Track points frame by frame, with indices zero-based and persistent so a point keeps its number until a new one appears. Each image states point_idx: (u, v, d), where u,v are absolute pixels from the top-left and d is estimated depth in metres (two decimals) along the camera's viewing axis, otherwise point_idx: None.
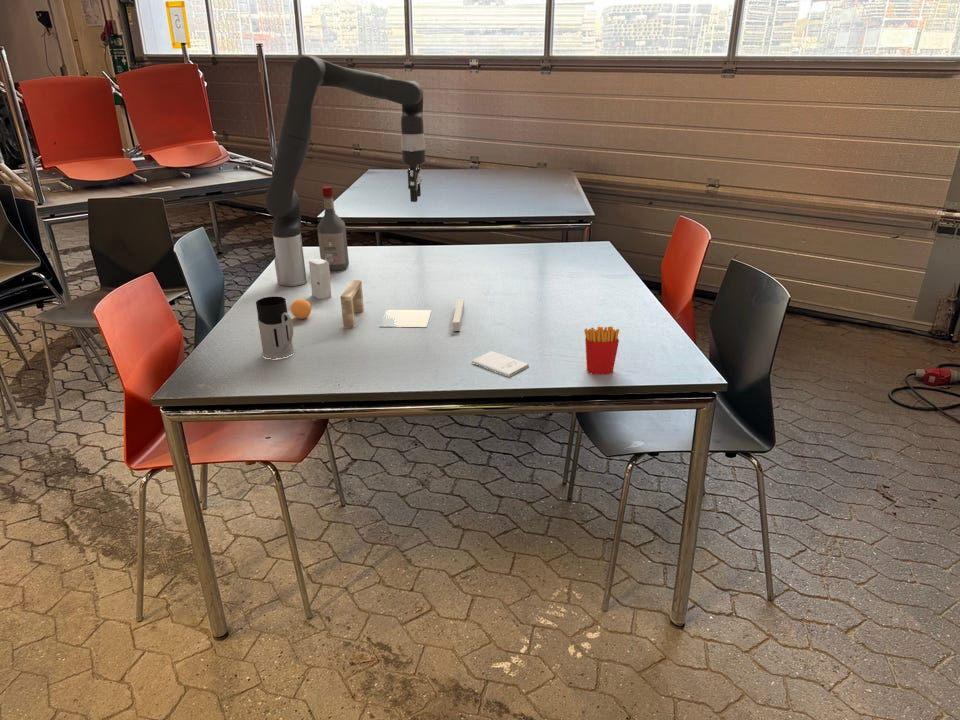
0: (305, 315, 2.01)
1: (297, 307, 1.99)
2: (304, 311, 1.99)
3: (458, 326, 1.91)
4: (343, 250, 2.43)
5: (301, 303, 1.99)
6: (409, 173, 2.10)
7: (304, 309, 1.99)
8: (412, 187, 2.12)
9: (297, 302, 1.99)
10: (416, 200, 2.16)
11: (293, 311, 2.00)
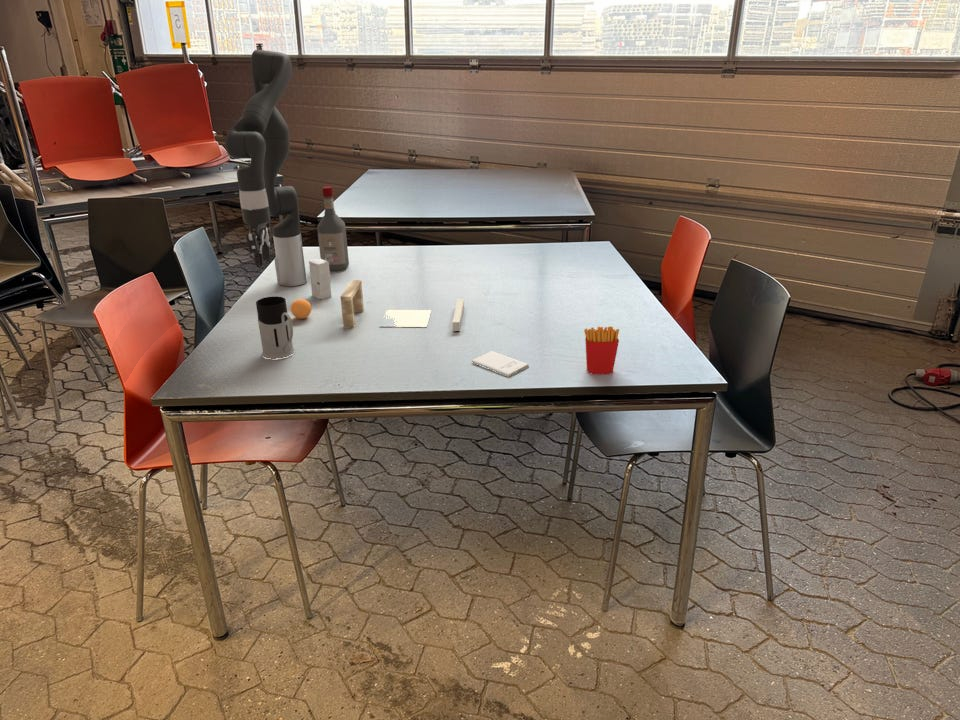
0: (305, 315, 2.01)
1: (297, 307, 1.99)
2: (304, 311, 1.99)
3: (458, 326, 1.91)
4: (343, 250, 2.43)
5: (301, 303, 1.99)
6: (248, 237, 1.86)
7: (304, 309, 1.99)
8: (254, 251, 1.89)
9: (297, 302, 1.99)
10: (262, 264, 1.93)
11: (293, 311, 2.00)
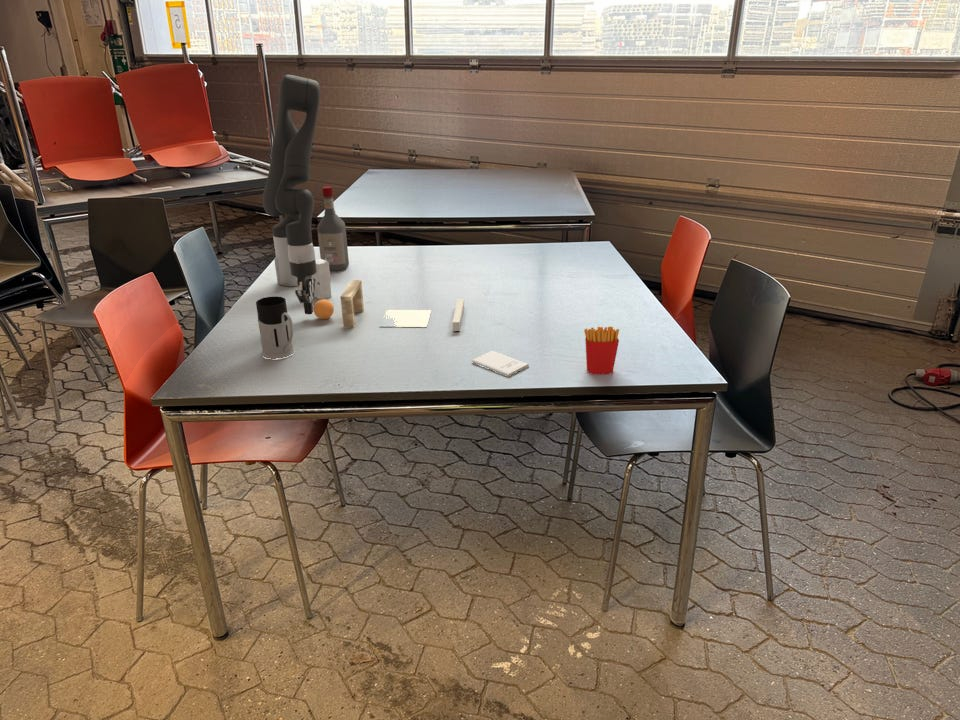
0: (316, 315, 2.00)
1: (325, 313, 1.99)
2: (320, 317, 2.00)
3: (458, 326, 1.91)
4: (343, 250, 2.43)
5: (328, 316, 2.00)
6: (297, 294, 1.93)
7: (322, 318, 2.00)
8: (304, 301, 1.97)
9: (330, 312, 2.00)
10: (310, 313, 2.01)
11: (322, 307, 1.98)
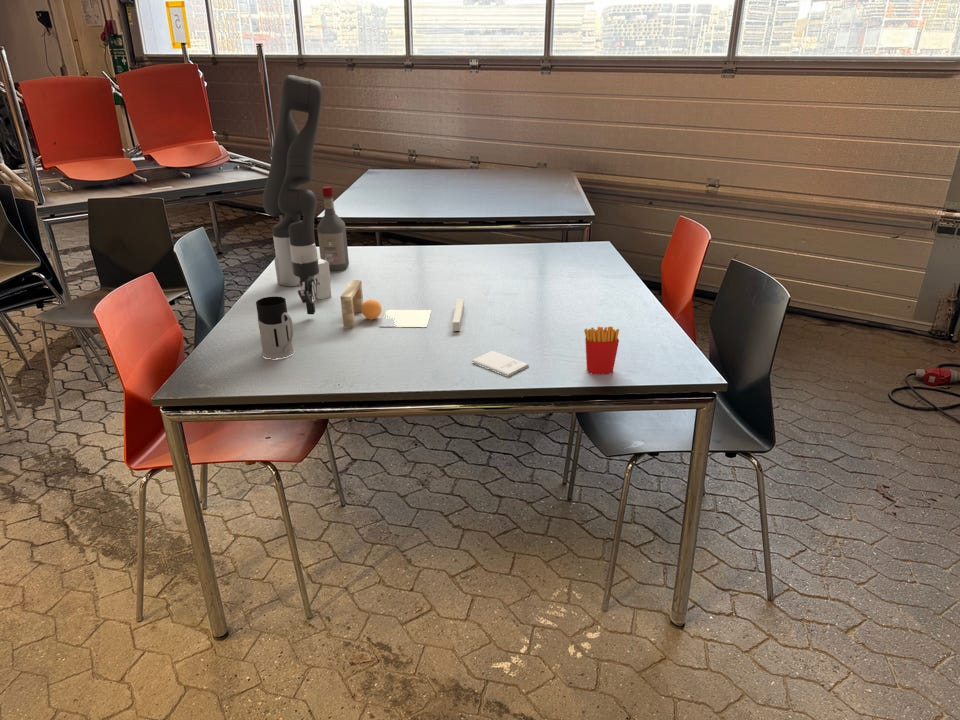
0: (374, 318, 2.00)
1: (371, 309, 1.98)
2: (375, 314, 1.99)
3: (458, 326, 1.91)
4: (343, 250, 2.43)
5: (375, 306, 1.98)
6: (300, 294, 1.94)
7: (376, 312, 1.99)
8: (306, 301, 1.97)
9: (372, 304, 1.98)
10: (313, 313, 2.01)
11: (365, 310, 1.98)
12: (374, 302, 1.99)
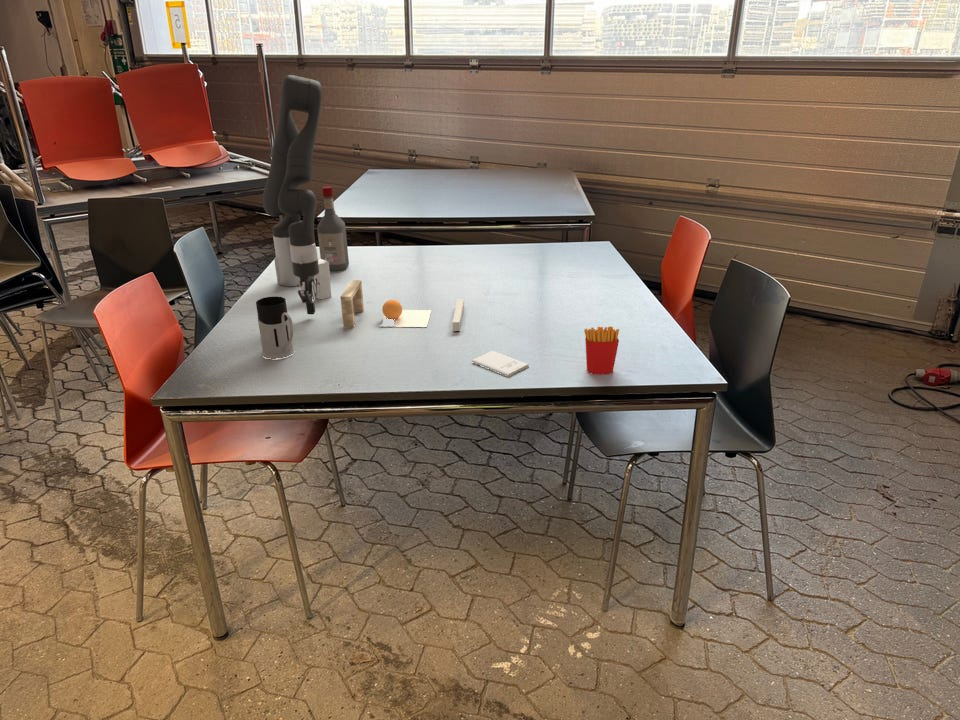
0: (383, 310, 1.99)
1: (393, 316, 1.99)
2: (386, 315, 1.99)
3: (458, 326, 1.91)
4: (343, 250, 2.43)
5: (393, 318, 2.00)
6: (300, 294, 1.94)
7: (387, 317, 1.99)
8: (306, 301, 1.97)
9: (397, 317, 2.00)
10: (313, 313, 2.01)
11: (394, 309, 1.98)
12: (397, 317, 2.01)
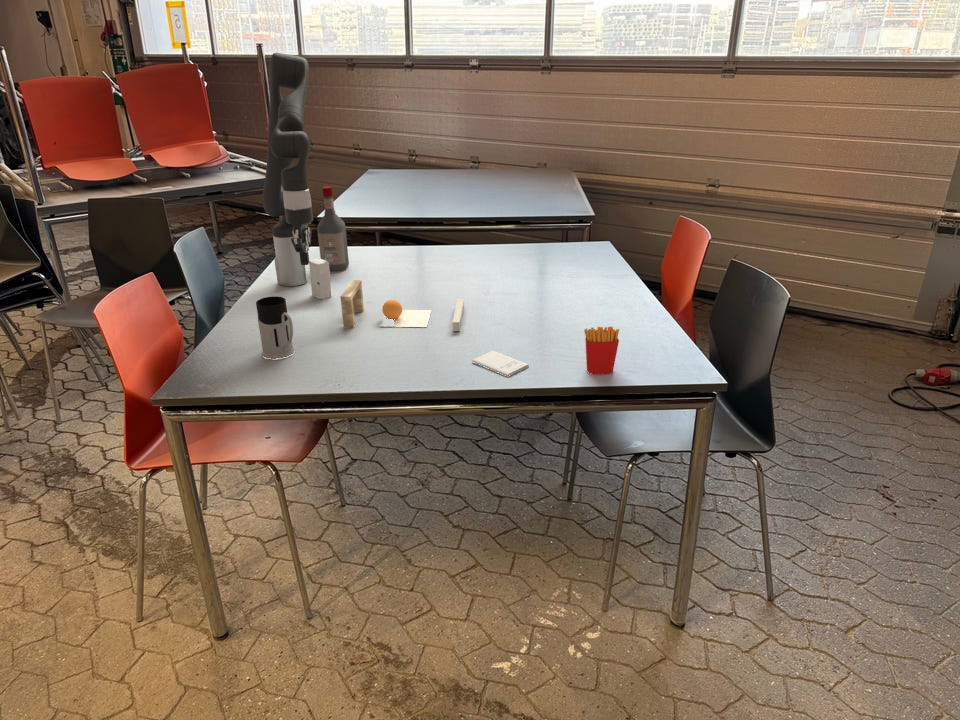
0: (383, 310, 1.99)
1: (393, 316, 1.99)
2: (386, 315, 1.99)
3: (458, 326, 1.91)
4: (343, 250, 2.43)
5: (393, 318, 2.00)
6: (293, 242, 1.87)
7: (387, 317, 1.99)
8: (300, 250, 1.91)
9: (397, 317, 2.00)
10: (307, 263, 1.95)
11: (394, 309, 1.98)
12: (397, 317, 2.01)
